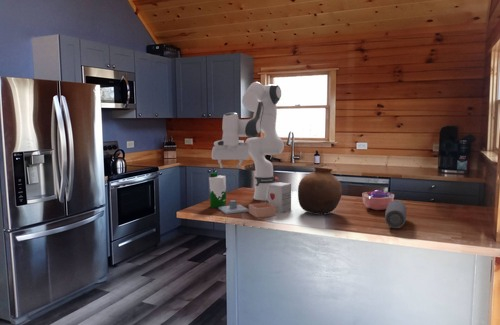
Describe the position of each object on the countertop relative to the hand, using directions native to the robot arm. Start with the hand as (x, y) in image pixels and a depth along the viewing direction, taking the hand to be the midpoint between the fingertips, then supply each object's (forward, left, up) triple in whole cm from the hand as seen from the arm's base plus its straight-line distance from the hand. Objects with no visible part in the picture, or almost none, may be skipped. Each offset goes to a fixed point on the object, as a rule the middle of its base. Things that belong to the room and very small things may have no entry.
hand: (230, 167), depth 207 cm
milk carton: (+3, -13, -24) cm, 28 cm away
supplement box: (-26, +9, -24) cm, 36 cm away
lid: (-2, -1, -24) cm, 24 cm away
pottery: (-42, +24, -24) cm, 54 cm away
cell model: (-76, +29, -25) cm, 85 cm away
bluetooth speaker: (-63, +57, -25) cm, 88 cm away
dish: (-13, +14, -24) cm, 31 cm away
